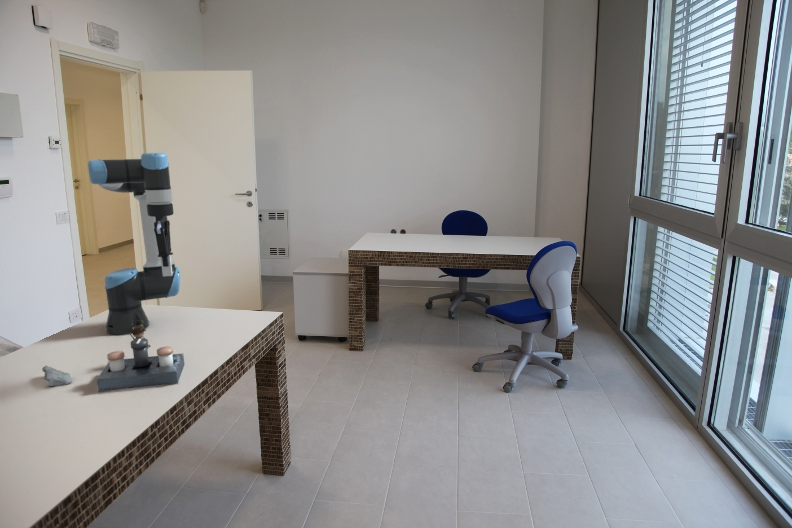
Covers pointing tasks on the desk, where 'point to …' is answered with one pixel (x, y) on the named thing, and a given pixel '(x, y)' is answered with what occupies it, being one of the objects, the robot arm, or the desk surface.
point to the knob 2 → (165, 356)
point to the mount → (141, 374)
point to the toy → (138, 332)
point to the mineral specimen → (56, 376)
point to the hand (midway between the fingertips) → (167, 275)
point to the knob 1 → (116, 361)
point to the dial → (140, 352)
